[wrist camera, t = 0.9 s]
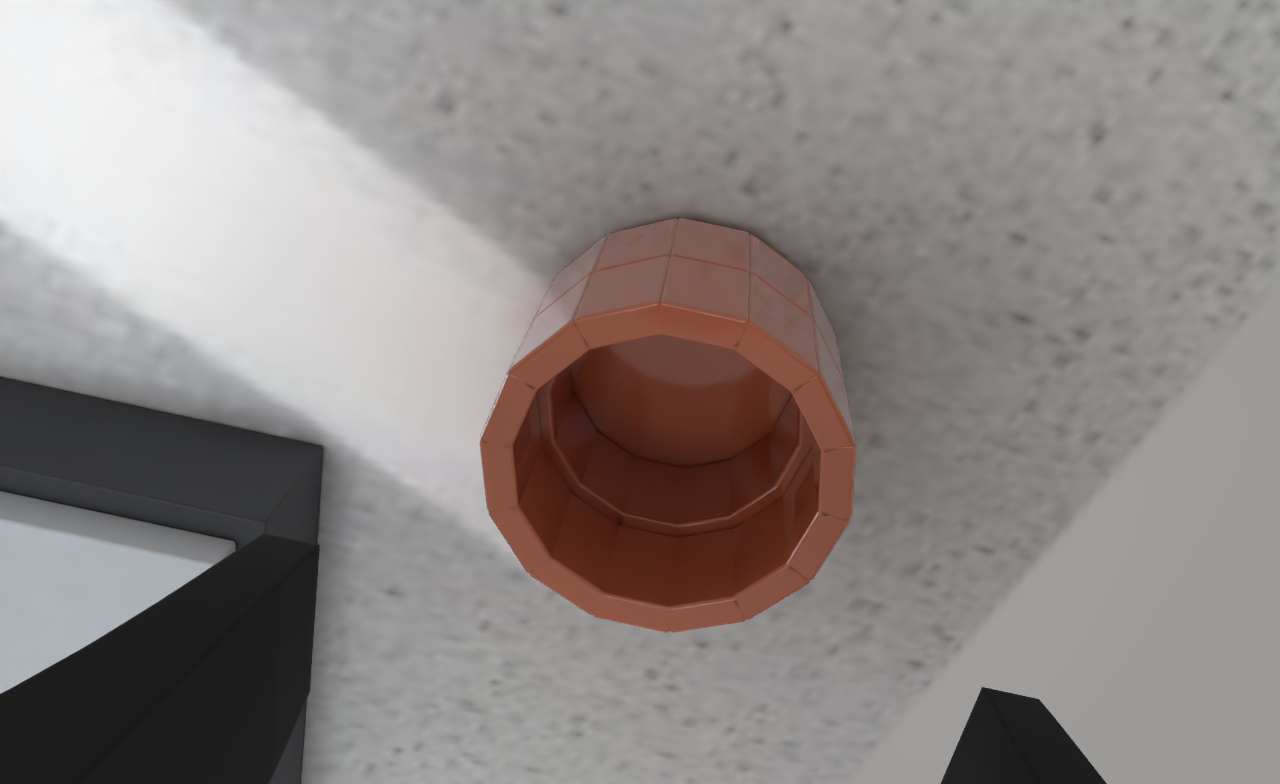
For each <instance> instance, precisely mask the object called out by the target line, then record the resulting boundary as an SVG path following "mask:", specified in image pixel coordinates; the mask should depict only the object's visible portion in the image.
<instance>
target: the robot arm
mask: <svg viewBox="0 0 1280 784" xmlns="http://www.w3.org/2000/svg"><path fill="white" fill-rule="evenodd" d="M319 546H320V545H316V544H312V543H307V542H302V541H298V540H293V539H288V538H284V537H279V536H274V535H270V534H265V533H264V534H262V535H260V536H259V537H257V538H255V539H254V540H252V541H251V542H249V543H247V544H246V545H244V546H243V547H241V548H239V549H238V550H236V551H235V552H233V553H232V554H230V555H229V556H227V557H225V558H224V559H222V560H221V561H219V562H218V563H216V564H215V565H213V566H212V567H210V568H209V569H207V570H206V571H204V572H203V573H201V574H200V575H198V576H197V577H195V578H194V579H192V580H190V581H189V582H187V583H186V584H184V585H183V586H181V587H180V588H178V589H177V590H175V591H174V592H172V593H170V594H169V595H167V596H166V597H164V598H163V599H161V600H160V601H158V602H157V603H155V604H153V605H152V606H150V607H148V608H147V609H145V610H144V611H142V612H140V613H139V614H137V615H136V616H134V617H132V618H131V619H129V620H128V621H126V622H124V623H123V624H121V625H120V626H118V627H116V628H115V629H113V630H111V631H110V632H108V633H107V634H105V635H103V636H102V637H100V638H99V639H97V640H95V641H94V642H92V643H90V644H88V645H87V646H85V647H83V648H82V649H80V650H78V651H76V652H75V653H73V654H71V655H69V656H67V657H66V658H64V659H62V660H60V661H59V662H57V663H55V664H53V665H51V666H50V667H48V668H46V669H44V670H43V671H41V672H39V673H37V674H35V675H34V676H32V677H30V678H28V679H27V680H25V681H23V682H21V683H19V684H18V685H16V686H14V687H12V688H10V689H9V690H7V691H5V692H3V693H1V694H0V784H269V782H270V780H271V779H272V777H273V775H274V773H275V770H276V768H277V766H278V764H279V761H280V759H281V757H282V755H283V752H284V750H285V748H286V746H287V743H288V741H289V739H290V737H291V734H292V732H293V729H294V727H295V725H296V722H297V720H298V718H299V715H300V713H301V711H302V708H303V706H304V703H305V701H306V699H307V696H308V694H309V692H310V678H311V663H312V649H313V634H314V619H315V605H316V590H317V575H318V561H319ZM941 784H1106V782H1105V781H1104V780H1103V779H1102V777H1101V776H1100V775H1099V774H1098V772H1097V771H1096V770H1095V769H1094V767H1093V766H1092V765H1091V763H1090V762H1089V761H1088V759H1087V758H1086V757H1085V756H1084V754H1083V753H1082V752H1081V751H1080V749H1079V748H1078V747H1077V746H1076V744H1075V743H1074V742H1073V740H1072V739H1071V738H1070V737H1069V735H1068V734H1067V733H1066V732H1065V731H1064V729H1063V728H1062V727H1061V725H1060V724H1059V723H1058V722H1057V720H1056V719H1055V718H1054V717H1053V715H1052V714H1051V713H1050V712H1049V711H1048V709H1046V707H1045V706H1044V705H1043V704H1042V703H1041V701H1040V700H1039V699H1035V698H1031V697H1026V696H1021V695H1017V694H1012V693H1007V692H1003V691H998V690H993V689H989V688H984V687H982V689H981V691H980V694H979V696H978V699H977V701H976V703H975V706H974V708H973V710H972V712H971V715H970V717H969V719H968V722H967V724H966V726H965V728H964V731H963V733H962V735H961V738H960V740H959V742H958V745H957V747H956V750H955V752H954V754H953V756H952V759H951V761H950V763H949V766H948V768H947V770H946V773H945V775H944V778H943V780H942V782H941Z"/></svg>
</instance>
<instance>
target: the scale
mask: <svg viewBox="0 0 1280 784" xmlns="http://www.w3.org/2000/svg"><path fill="white" fill-rule="evenodd" d="M322 453H323V448H322V447H321V446H316V445H311V444H307V443H302V442H297V441H293V440H288V439H283V438H279V437H274V436H269V435H265V434H260V433H255V432H251V431H246V430H241V429H237V428H232V427H227V426H223V425H218V424H213V423H209V422H204V421H199V420H195V419H190V418H185V417H181V416H176V415H171V414H167V413H162V412H157V411H153V410H148V409H143V408H139V407H134V406H129V405H125V404H120V403H115V402H111V401H106V400H101V399H97V398H92V397H87V396H83V395H78V394H73V393H69V392H64V391H59V390H55V389H50V388H45V387H41V386H36V385H31V384H27V383H22V382H17V381H13V380H8V379H3V378H0V694H1V693H3V692H5V691H7V690H9V689H10V688H12V687H14V686H16V685H18V684H19V683H21V682H23V681H25V680H27V679H28V678H30V677H32V676H34V675H35V674H37V673H39V672H41V671H43V670H44V669H46V668H48V667H50V666H51V665H53V664H55V663H57V662H59V661H60V660H62V659H64V658H66V657H67V656H69V655H71V654H73V653H75V652H76V651H78V650H80V649H82V648H83V647H85V646H87V645H88V644H90V643H92V642H94V641H95V640H97V639H99V638H100V637H102V636H103V635H105V634H107V633H108V632H110V631H111V630H113V629H115V628H116V627H118V626H120V625H121V624H123V623H124V622H126V621H128V620H129V619H131V618H132V617H134V616H136V615H137V614H139V613H140V612H142V611H144V610H145V609H147V608H148V607H150V606H152V605H153V604H155V603H157V602H158V601H160V600H161V599H163V598H164V597H166V596H167V595H169V594H170V593H172V592H174V591H175V590H177V589H178V588H180V587H181V586H183V585H184V584H186V583H187V582H189V581H190V580H192V579H194V578H195V577H197V576H198V575H200V574H201V573H203V572H204V571H206V570H207V569H209V568H210V567H212V566H213V565H215V564H216V563H218V562H219V561H221V560H222V559H224V558H225V557H227V556H229V555H230V554H232V553H233V552H235V551H236V550H238V549H239V548H241V547H243V546H244V545H246V544H247V543H249V542H251V541H252V540H254V539H255V538H257V537H259V536H260V535H262V534H264V533H265V534H270V535H274V536H279V537H284V538H288V539H293V540H298V541H302V542H307V543H312V544H316V542H317V527H318V512H319V497H320V483H321V468H322ZM305 707H306V701H305V703H304V706H303V708H302V711H301V713H300V715H299V718H298V720H297V722H296V725H295V727H294V729H293V732H292V734H291V737H290V739H289V741H288V743H287V746H286V748H285V750H284V752H283V755H282V757H281V759H280V761H279V764H278V766H277V768H276V770H275V773H274V775H273V777H272V779H271V780H270V782H269V784H300V781H301V766H302V751H303V737H304V722H305Z"/></svg>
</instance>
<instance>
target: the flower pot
mask: <svg viewBox="0 0 1280 784" xmlns="http://www.w3.org/2000/svg"><path fill="white" fill-rule="evenodd" d="M480 451H481V459H482V468H483V477H484V486H485V495H486V504H487V509H488V511H489V515H490V516H491V518H492V520H493V521H494V523H495V524H496V526H497V527H498V529H499V530H500V532H501V533H502V535H503V536H504V538H505V539H506V541H507V542H508V544H509V545H510V547H511V548H512V550H513V552H514V553H515V555H516V556H517V558H518V559H519V561H520V562H521V564H522V565H523V567H524V568H525V570H526V571H527V572H528V573H530V575H531V576H532V577H534V578H535V579H537V580H538V581H540V582H541V583H543V584H544V585H546V586H547V587H549V588H550V589H552V590H553V591H555V592H557V593H558V594H560V595H561V596H563V597H564V598H566V599H567V600H569V601H570V602H572V603H573V604H575V605H576V606H578V607H579V608H581V609H582V610H584V611H585V612H587V613H589V614H590V615H593V614H594V616H595V617H597V618H601V619H606V620H611V621H615V622H620V623H625V624H629V625H634V626H639V627H643V628H648V629H653V630H657V631H662V632H669V631H671V632H679V631H685V630H692V629H698V628H705V627H711V626H718V625H724V624H731V623H737V622H743V621H745V620H746V619H747V620H748V619H751V618H753V617H754V616H756V615H758V614H759V613H761V612H762V611H764V610H766V609H767V608H769V607H771V606H772V605H774V604H775V603H777V602H779V601H780V600H782V599H784V598H785V597H787V596H789V595H790V594H792V593H793V592H795V591H797V590H798V589H800V588H802V587H803V586H805V585H807V584H808V583H809V582H810V580H812V579H813V578H814V577H815V575H816V574H817V572H818V571H819V569H820V567H821V566H822V564H823V563H824V561H825V560H826V558H827V556H828V555H829V553H830V552H831V550H832V549H833V547H834V545H835V544H836V542H837V541H838V539H839V538H840V536H841V534H842V533H843V531H844V530H845V528H846V527H847V525H848V524H849V522H850V518H851V516H852V508H853V490H854V472H855V454H856V445H855V439H854V434H853V428H852V422H851V417H850V411H849V405H848V400H847V394H846V389H845V384H844V378H843V372H842V367H841V361H840V355H839V350H838V344H837V340H836V336H835V332H834V330H833V328H832V326H831V324H830V322H829V320H828V318H827V316H826V313H825V311H824V309H823V307H822V305H821V303H820V301H819V299H818V297H817V295H816V293H815V291H814V289H813V286H812V284H811V282H810V281H809V280H808V279H806V276H805V274H804V273H803V272H801V271H800V270H799V269H797V268H796V267H795V266H793V265H792V264H791V263H790V262H788V261H787V260H786V259H784V258H783V257H782V256H780V255H779V254H778V253H776V252H775V251H774V250H773V249H771V248H770V247H769V246H767V245H766V244H765V243H763V242H762V241H761V240H759V239H758V238H757V237H756V236H754V235H750V233H748V232H746V231H741V230H737V229H732V228H727V227H723V226H718V225H713V224H708V223H704V222H699V221H694V220H690V219H685V218H679V219H669V220H665V221H661V222H656V223H652V224H648V225H643V226H639V227H635V228H630V229H626V230H622V231H617V232H613V233H611V234H610V235H605V236H604V237H603V238H601V239H600V240H599V241H598V242H597V243H595V244H594V245H593V246H592V247H590V248H589V249H588V250H587V251H586V252H584V253H583V254H582V255H581V256H579V257H578V258H577V259H576V260H574V261H573V262H572V263H571V264H570V265H568V266H567V267H566V268H565V269H563V270H562V271H561V272H560V273H559V274H557V276H556V278H555V279H553V281H552V283H551V285H550V287H549V289H548V291H547V293H546V295H545V297H544V299H543V301H542V303H541V305H540V307H539V309H538V311H537V313H536V315H535V317H534V319H533V322H532V323H531V325H530V327H529V329H528V331H527V333H526V335H525V337H524V339H523V341H522V343H521V345H520V347H519V349H518V351H517V353H516V355H515V357H514V359H513V361H512V363H511V366H510V368H509V370H508V372H507V374H506V376H505V378H504V381H503V383H502V386H501V388H500V390H499V393H498V395H497V397H496V400H495V402H494V404H493V407H492V409H491V411H490V414H489V416H488V419H487V421H486V423H485V426H484V428H483V430H482V433H481V439H480Z"/></svg>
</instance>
